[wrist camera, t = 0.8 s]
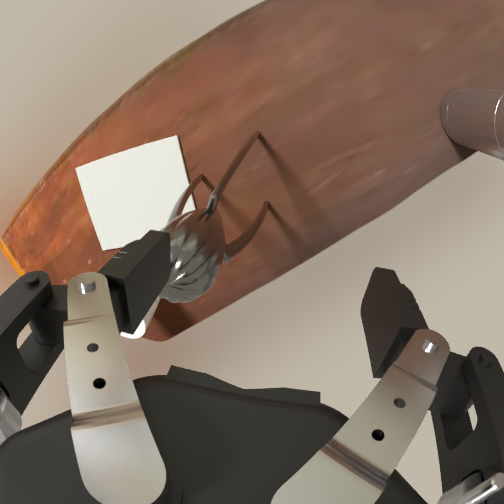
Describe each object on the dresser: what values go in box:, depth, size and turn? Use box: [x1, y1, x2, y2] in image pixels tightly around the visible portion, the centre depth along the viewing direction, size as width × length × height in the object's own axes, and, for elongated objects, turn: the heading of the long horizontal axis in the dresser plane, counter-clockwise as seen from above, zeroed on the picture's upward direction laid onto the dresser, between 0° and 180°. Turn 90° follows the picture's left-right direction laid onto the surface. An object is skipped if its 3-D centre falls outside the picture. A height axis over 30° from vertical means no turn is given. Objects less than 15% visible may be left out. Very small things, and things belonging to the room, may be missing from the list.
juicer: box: [159, 131, 269, 303], centre depth 29 cm, size 10×11×30 cm
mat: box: [76, 135, 196, 250], centre depth 47 cm, size 20×16×1 cm
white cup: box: [120, 296, 161, 339], centre depth 50 cm, size 8×8×10 cm
